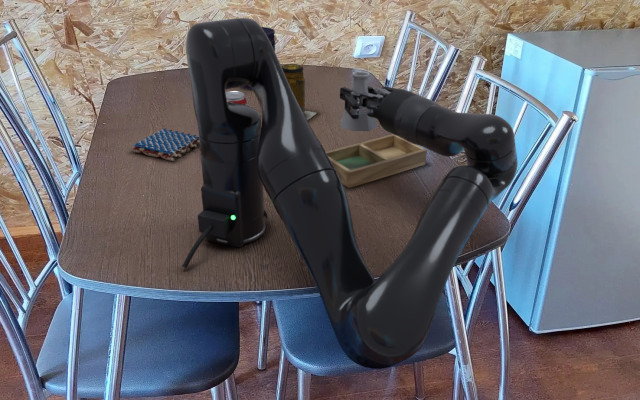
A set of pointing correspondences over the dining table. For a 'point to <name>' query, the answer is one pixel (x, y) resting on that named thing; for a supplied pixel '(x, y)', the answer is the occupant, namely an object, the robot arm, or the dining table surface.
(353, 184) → the wooden compartment tray
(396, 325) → the robot arm
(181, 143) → the woven mat
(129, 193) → the dining table surface
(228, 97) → the soda can
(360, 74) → the flask
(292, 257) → the dining table surface
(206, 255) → the dining table surface
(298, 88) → the condiment
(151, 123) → the dining table surface
